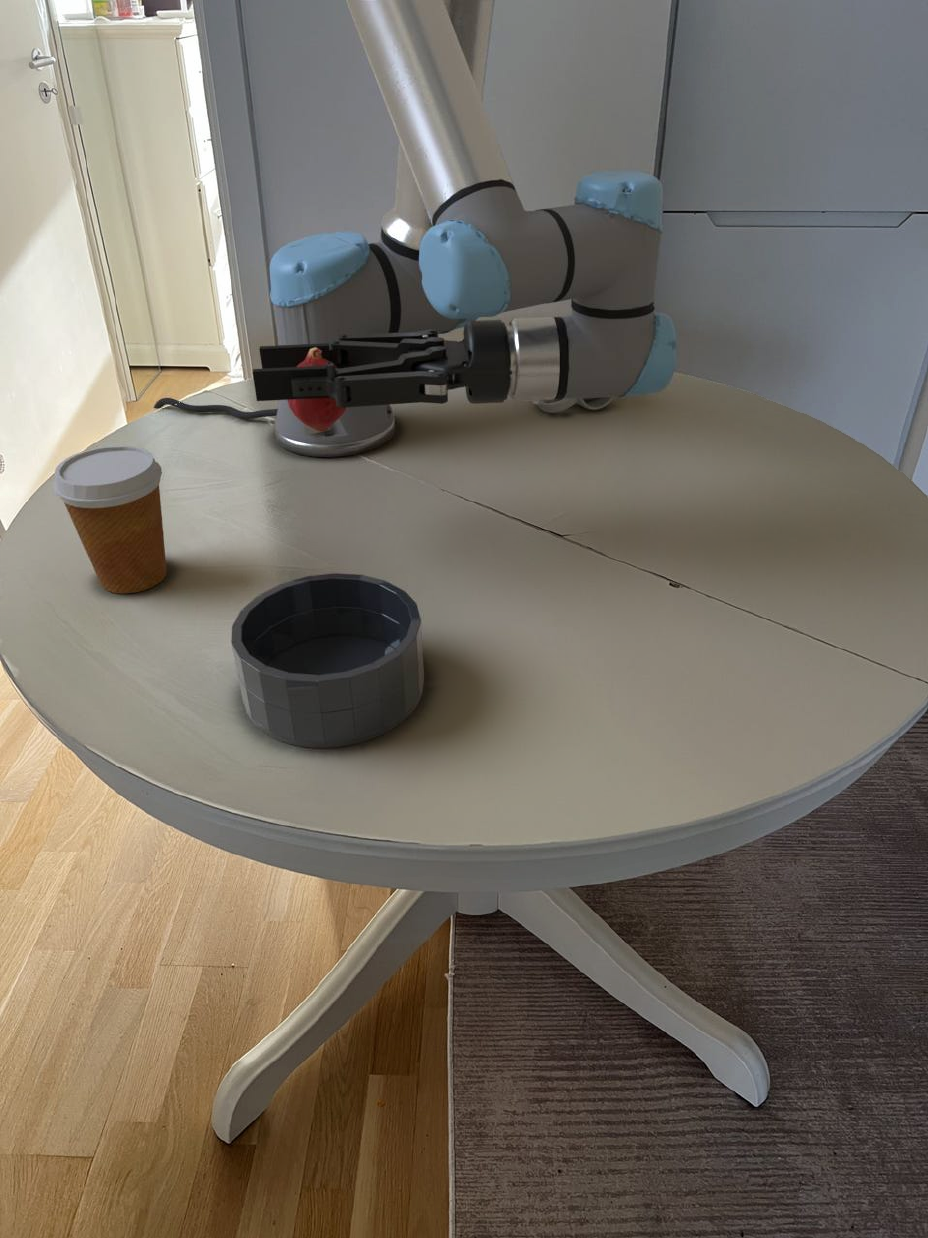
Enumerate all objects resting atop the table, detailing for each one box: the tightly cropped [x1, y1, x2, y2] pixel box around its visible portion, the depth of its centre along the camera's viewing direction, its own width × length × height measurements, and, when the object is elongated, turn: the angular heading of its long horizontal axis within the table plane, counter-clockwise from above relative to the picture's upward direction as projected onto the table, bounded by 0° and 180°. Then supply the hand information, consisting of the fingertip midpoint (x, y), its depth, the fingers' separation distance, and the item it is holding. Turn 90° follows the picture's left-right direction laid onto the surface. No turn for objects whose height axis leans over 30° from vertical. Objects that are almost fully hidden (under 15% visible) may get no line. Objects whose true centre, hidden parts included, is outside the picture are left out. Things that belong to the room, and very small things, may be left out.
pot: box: [230, 572, 425, 749], centre depth 74 cm, size 15×15×6 cm
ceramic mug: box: [538, 397, 615, 414], centre depth 123 cm, size 11×8×8 cm
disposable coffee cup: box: [52, 444, 168, 595], centre depth 87 cm, size 10×10×12 cm
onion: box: [287, 347, 347, 431], centre depth 86 cm, size 6×6×8 cm
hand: (259, 372), depth 85 cm, fingers closed on onion, 6 cm apart
